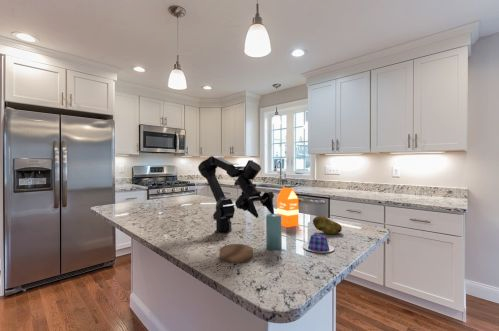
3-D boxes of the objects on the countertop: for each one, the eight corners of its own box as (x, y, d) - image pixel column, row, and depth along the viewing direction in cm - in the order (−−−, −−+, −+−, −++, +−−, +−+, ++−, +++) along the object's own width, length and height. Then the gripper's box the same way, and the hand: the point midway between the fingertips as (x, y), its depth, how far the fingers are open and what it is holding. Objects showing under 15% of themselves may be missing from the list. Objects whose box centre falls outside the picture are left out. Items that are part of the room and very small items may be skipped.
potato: (340, 237, 114) (340, 219, 113) (311, 233, 119) (311, 216, 119) (342, 232, 121) (342, 216, 121) (315, 229, 127) (315, 213, 127)
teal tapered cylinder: (264, 249, 98) (264, 216, 97) (268, 244, 103) (268, 213, 103) (279, 251, 96) (279, 217, 95) (283, 246, 101) (283, 214, 101)
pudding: (336, 246, 102) (336, 233, 102) (331, 256, 91) (331, 242, 91) (307, 242, 107) (307, 230, 107) (299, 251, 97) (299, 237, 97)
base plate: (213, 260, 87) (213, 253, 87) (228, 248, 99) (228, 242, 98) (246, 265, 83) (246, 257, 83) (257, 252, 94) (257, 246, 94)
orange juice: (287, 221, 143) (287, 186, 142) (298, 225, 135) (298, 188, 135) (277, 223, 139) (276, 187, 138) (287, 227, 131) (287, 189, 131)
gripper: (253, 196, 121) (270, 223, 113) (222, 200, 108) (239, 231, 100) (265, 181, 115) (284, 208, 107) (233, 183, 103) (252, 214, 95)
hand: (265, 215), depth 103 cm, fingers open, 9 cm apart
